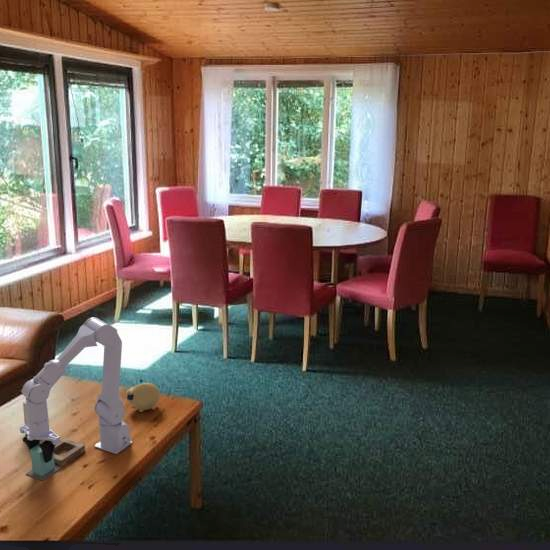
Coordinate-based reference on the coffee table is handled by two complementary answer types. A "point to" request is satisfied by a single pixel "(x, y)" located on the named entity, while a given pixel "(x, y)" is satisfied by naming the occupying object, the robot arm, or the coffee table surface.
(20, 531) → the coffee table surface
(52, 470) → the mat
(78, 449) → the block
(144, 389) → the cream rounded figure
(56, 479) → the coffee table surface
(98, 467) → the coffee table surface
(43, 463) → the teal block
